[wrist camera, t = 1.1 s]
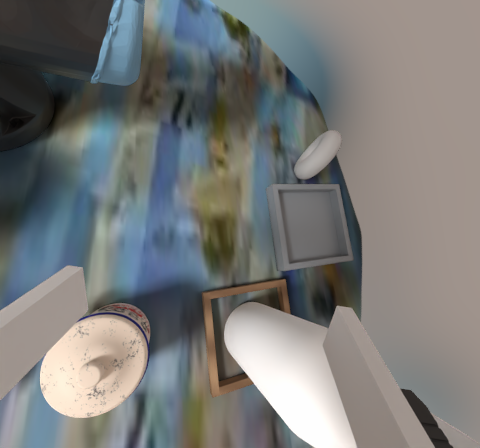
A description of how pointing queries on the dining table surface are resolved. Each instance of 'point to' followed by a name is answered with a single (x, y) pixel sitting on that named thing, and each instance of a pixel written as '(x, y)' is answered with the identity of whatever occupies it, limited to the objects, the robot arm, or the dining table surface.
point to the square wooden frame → (226, 384)
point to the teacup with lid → (97, 361)
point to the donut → (318, 155)
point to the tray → (308, 225)
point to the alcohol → (299, 375)
